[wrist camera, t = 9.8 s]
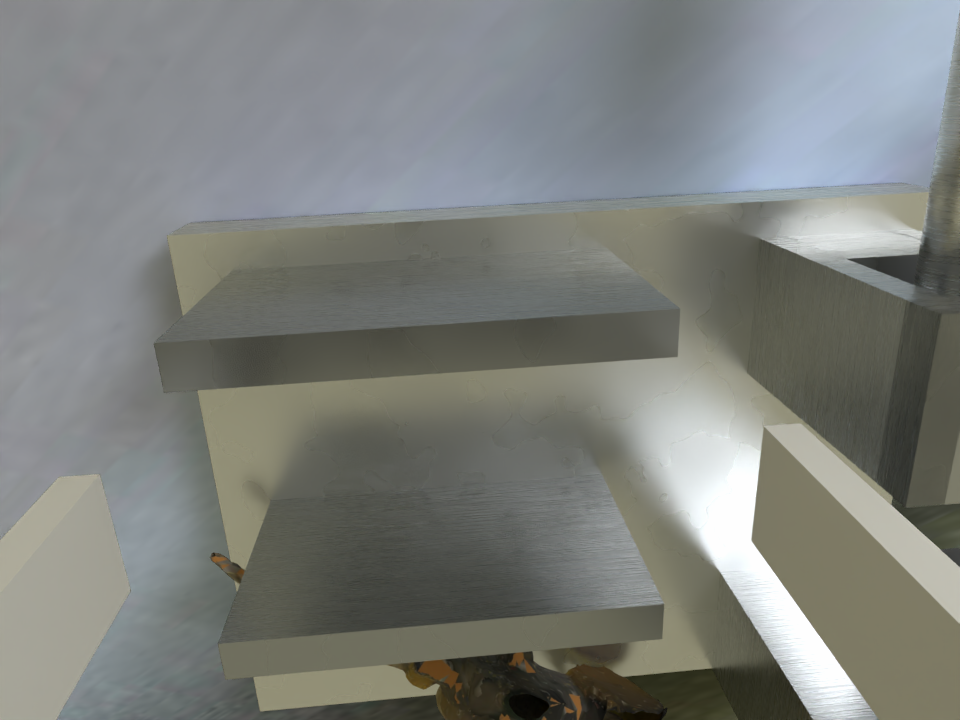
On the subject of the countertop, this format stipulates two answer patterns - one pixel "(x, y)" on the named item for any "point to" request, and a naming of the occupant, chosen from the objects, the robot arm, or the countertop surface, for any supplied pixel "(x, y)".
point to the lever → (944, 198)
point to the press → (551, 429)
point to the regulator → (518, 686)
